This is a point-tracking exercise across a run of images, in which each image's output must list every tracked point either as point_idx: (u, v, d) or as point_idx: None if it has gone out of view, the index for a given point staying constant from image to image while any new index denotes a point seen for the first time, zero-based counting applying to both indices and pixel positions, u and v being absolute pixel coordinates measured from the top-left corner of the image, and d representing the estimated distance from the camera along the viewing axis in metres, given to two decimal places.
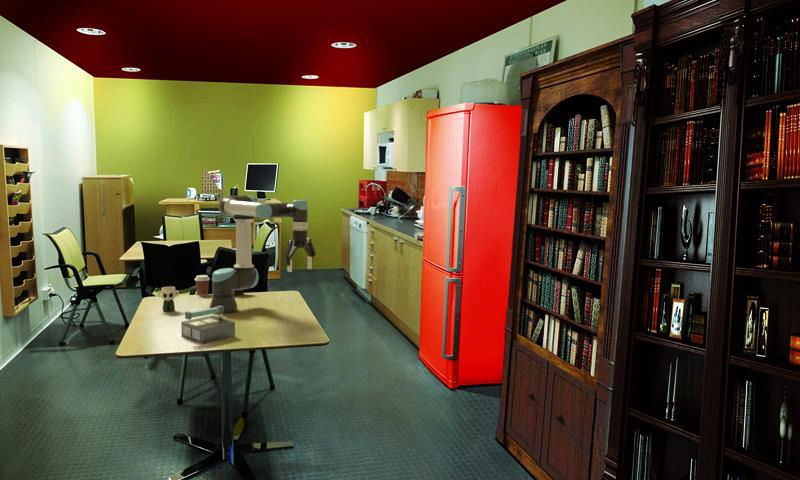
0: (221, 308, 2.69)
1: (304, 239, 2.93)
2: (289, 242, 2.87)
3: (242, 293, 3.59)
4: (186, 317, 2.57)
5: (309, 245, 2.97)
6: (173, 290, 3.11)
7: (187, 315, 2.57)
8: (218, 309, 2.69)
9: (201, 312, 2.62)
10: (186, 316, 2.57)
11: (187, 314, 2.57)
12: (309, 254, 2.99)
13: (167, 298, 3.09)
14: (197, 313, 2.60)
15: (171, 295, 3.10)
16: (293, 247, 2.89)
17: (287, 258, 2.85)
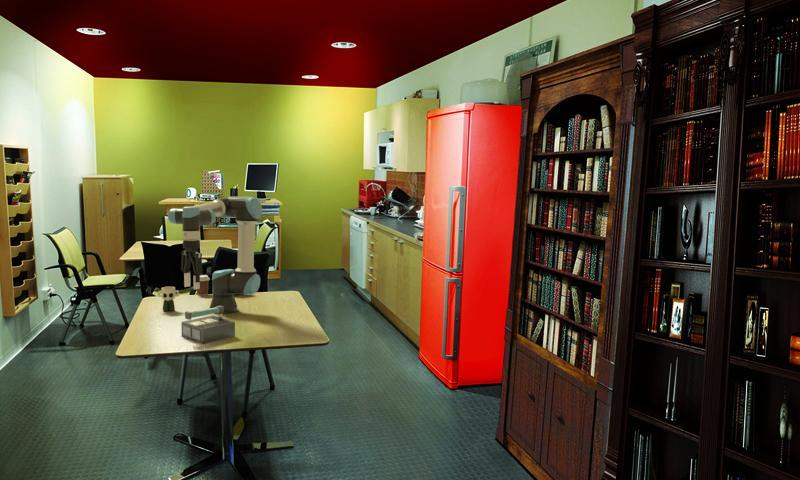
0: (221, 308, 2.69)
1: (192, 250, 2.61)
2: None
3: None
4: (186, 317, 2.57)
5: None
6: (173, 290, 3.11)
7: (187, 315, 2.57)
8: (218, 309, 2.69)
9: (201, 312, 2.62)
10: (186, 316, 2.57)
11: (187, 314, 2.57)
12: None
13: (167, 298, 3.09)
14: (197, 313, 2.60)
15: (171, 295, 3.10)
16: None
17: None
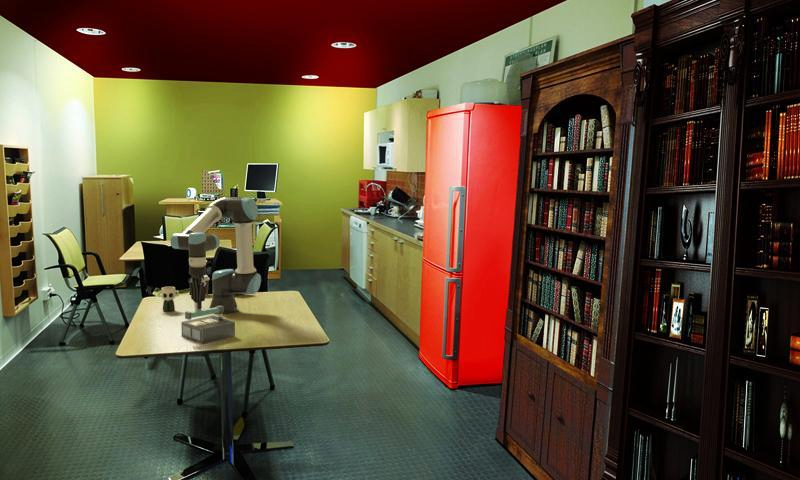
0: (221, 308, 2.69)
1: (198, 276, 2.59)
2: None
3: None
4: (186, 317, 2.57)
5: None
6: (173, 290, 3.11)
7: (187, 315, 2.57)
8: (218, 309, 2.69)
9: (201, 312, 2.62)
10: (186, 316, 2.57)
11: (187, 314, 2.57)
12: None
13: (167, 298, 3.09)
14: (197, 313, 2.60)
15: (171, 295, 3.10)
16: None
17: (194, 301, 2.64)
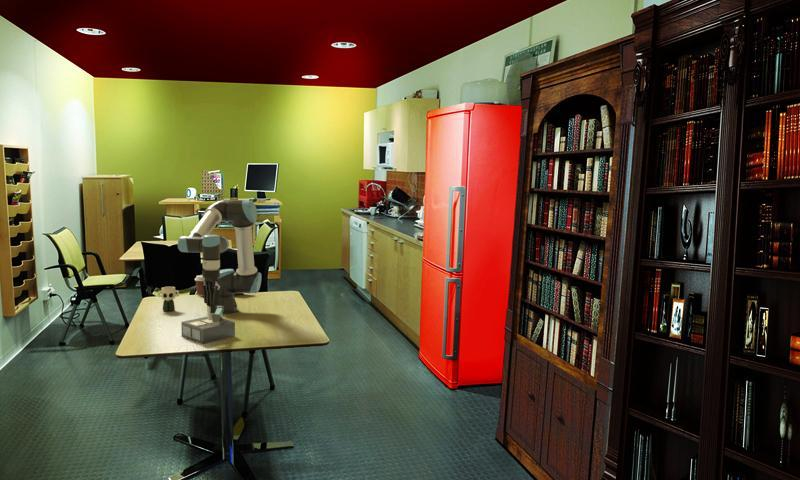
0: (223, 307, 2.71)
1: (212, 279, 2.53)
2: None
3: (242, 293, 3.59)
4: (214, 320, 2.54)
5: None
6: (173, 290, 3.11)
7: (216, 318, 2.54)
8: (222, 309, 2.69)
9: (220, 313, 2.60)
10: (214, 319, 2.54)
11: (216, 317, 2.54)
12: None
13: (167, 298, 3.09)
14: None
15: (171, 295, 3.10)
16: None
17: (207, 305, 2.58)
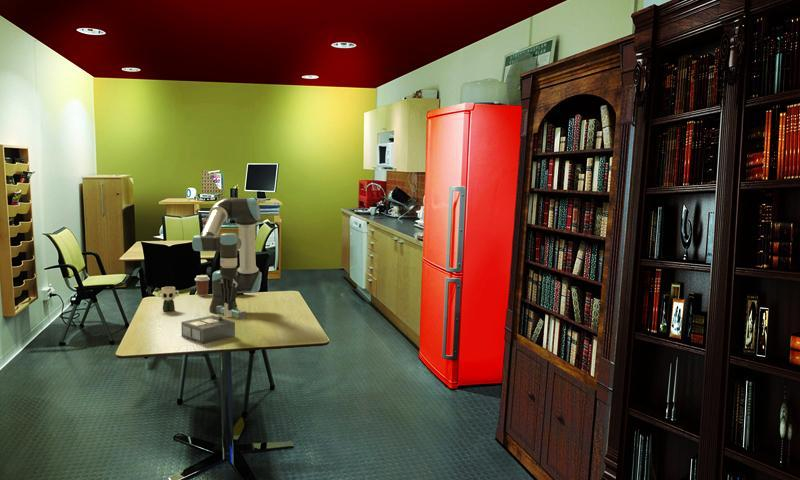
0: None
1: (229, 277, 2.58)
2: None
3: (242, 293, 3.59)
4: (242, 317, 2.60)
5: None
6: (173, 290, 3.11)
7: (243, 315, 2.61)
8: None
9: None
10: (242, 316, 2.60)
11: (243, 314, 2.60)
12: None
13: (167, 298, 3.09)
14: None
15: (171, 295, 3.10)
16: None
17: (223, 302, 2.63)
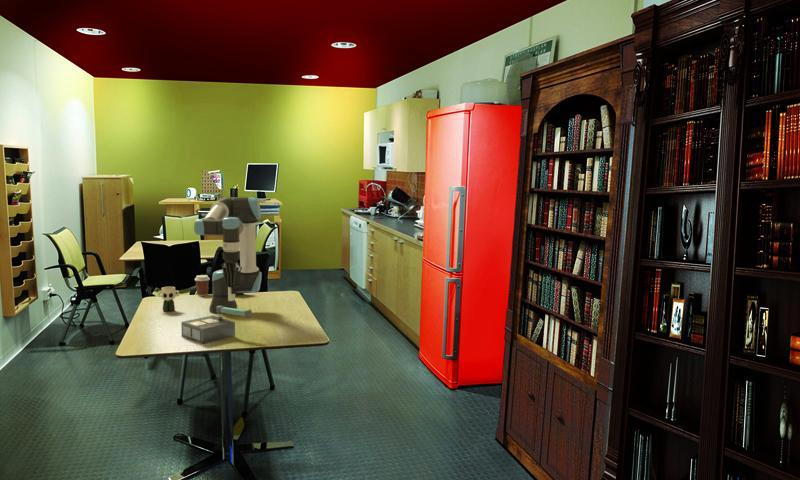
0: None
1: (232, 261, 2.59)
2: None
3: (242, 293, 3.59)
4: (248, 316, 2.63)
5: None
6: (173, 290, 3.11)
7: (249, 313, 2.64)
8: None
9: None
10: (248, 315, 2.63)
11: (249, 312, 2.64)
12: None
13: (167, 298, 3.09)
14: None
15: (171, 295, 3.10)
16: None
17: (227, 286, 2.64)
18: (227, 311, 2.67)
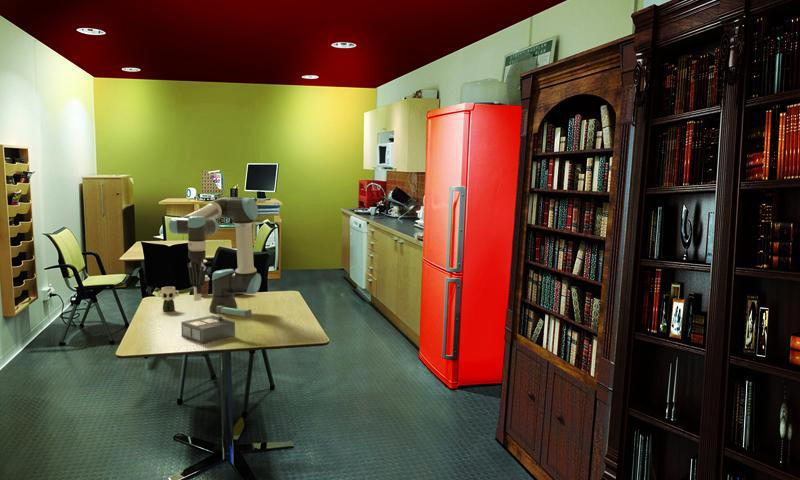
0: None
1: (198, 260, 2.56)
2: None
3: None
4: (248, 316, 2.63)
5: None
6: (173, 290, 3.11)
7: (249, 313, 2.64)
8: None
9: None
10: (248, 315, 2.63)
11: (249, 312, 2.64)
12: None
13: (167, 298, 3.09)
14: None
15: (171, 295, 3.10)
16: None
17: None
18: (227, 311, 2.67)
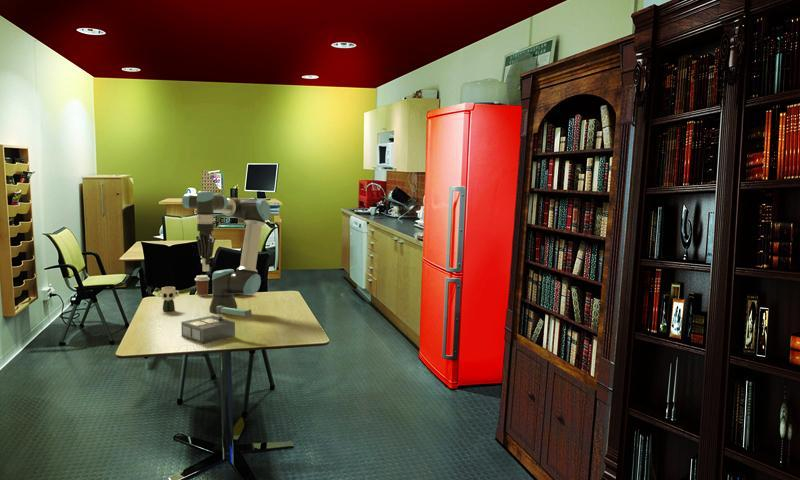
0: None
1: (206, 233, 2.70)
2: None
3: None
4: (248, 316, 2.63)
5: None
6: (173, 290, 3.11)
7: (249, 313, 2.64)
8: None
9: None
10: (248, 315, 2.63)
11: (249, 312, 2.64)
12: None
13: (167, 298, 3.09)
14: None
15: (171, 295, 3.10)
16: None
17: None
18: (227, 311, 2.67)
